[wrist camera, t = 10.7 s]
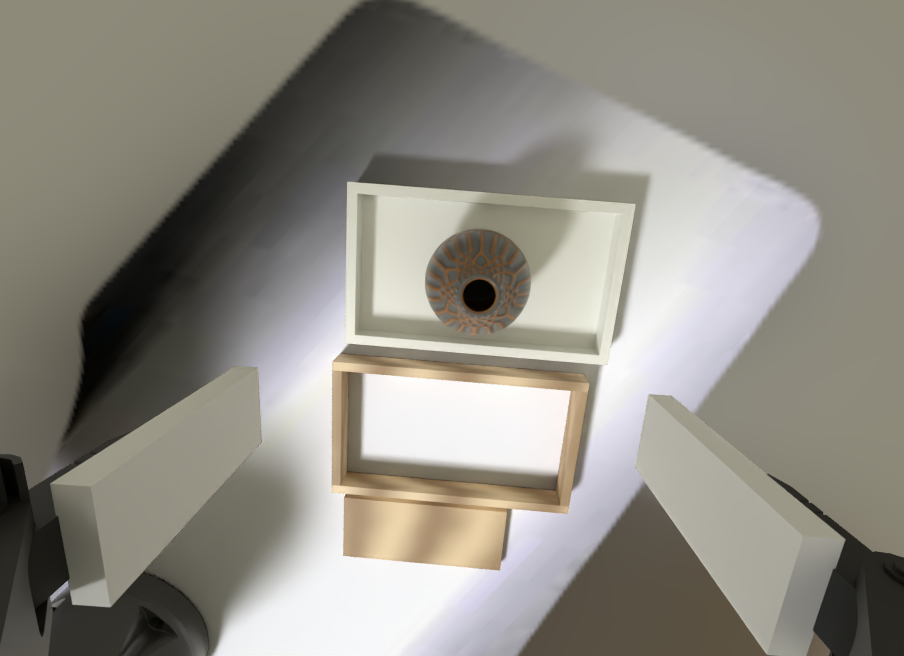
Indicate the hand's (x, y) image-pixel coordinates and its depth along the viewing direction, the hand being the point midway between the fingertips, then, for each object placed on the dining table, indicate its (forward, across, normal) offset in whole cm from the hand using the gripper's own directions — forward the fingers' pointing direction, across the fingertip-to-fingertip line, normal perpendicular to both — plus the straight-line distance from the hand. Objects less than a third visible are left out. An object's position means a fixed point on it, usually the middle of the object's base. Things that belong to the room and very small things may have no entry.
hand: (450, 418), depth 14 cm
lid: (+19, -2, -20) cm, 28 cm away
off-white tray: (+19, +2, +3) cm, 19 cm away
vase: (+19, +1, +3) cm, 19 cm away
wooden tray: (+19, 0, -10) cm, 22 cm away
